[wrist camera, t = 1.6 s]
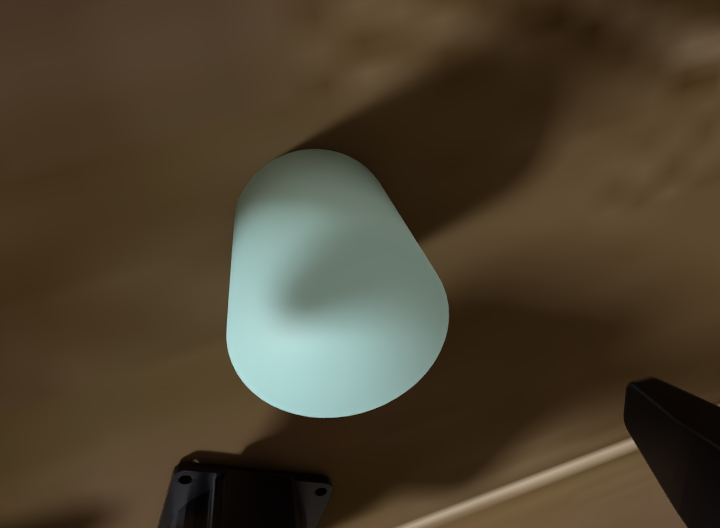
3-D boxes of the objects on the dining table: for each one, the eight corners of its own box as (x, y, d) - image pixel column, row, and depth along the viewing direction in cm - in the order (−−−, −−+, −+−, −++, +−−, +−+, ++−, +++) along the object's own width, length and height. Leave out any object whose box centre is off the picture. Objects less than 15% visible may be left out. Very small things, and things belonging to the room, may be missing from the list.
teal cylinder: (360, 304, 19) (401, 429, 14) (218, 274, 17) (204, 402, 12) (412, 174, 17) (484, 262, 12) (257, 127, 15) (260, 204, 10)
